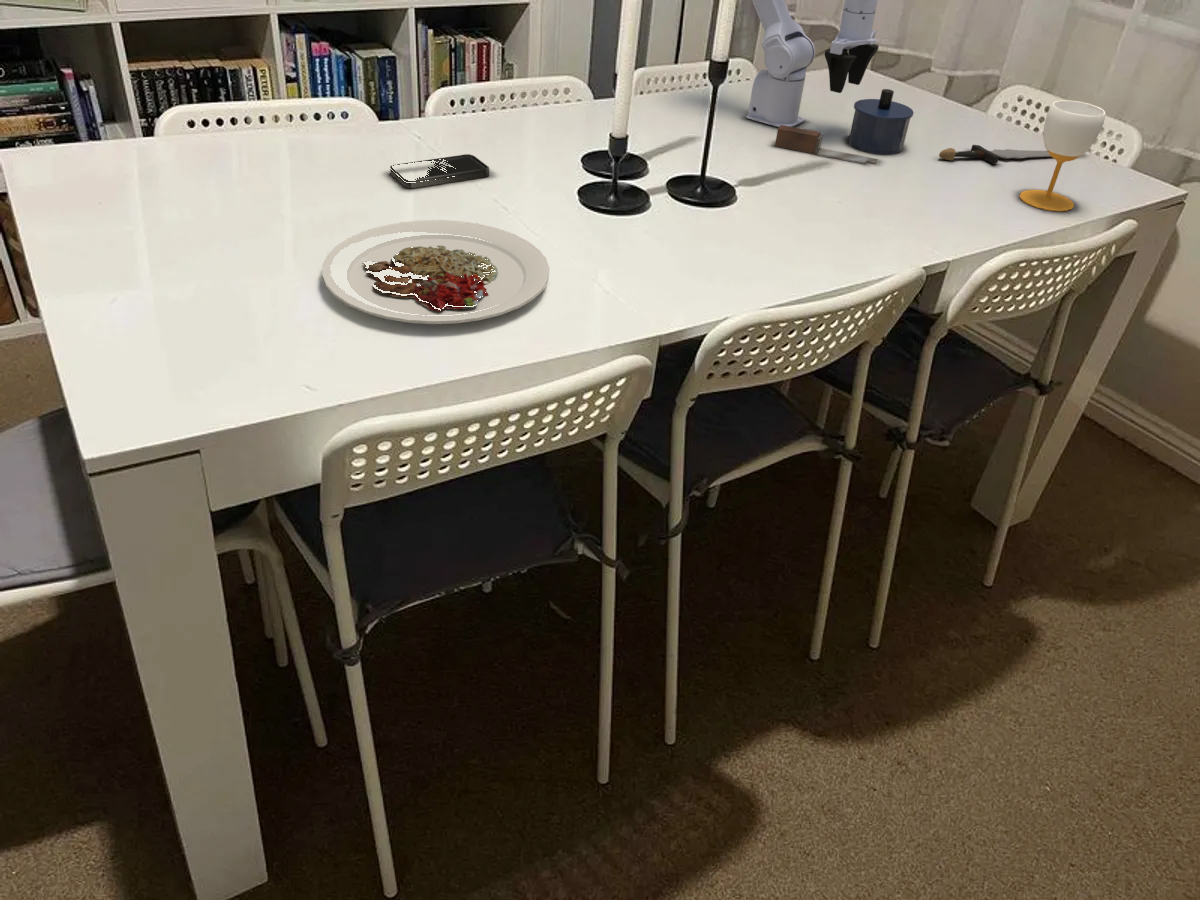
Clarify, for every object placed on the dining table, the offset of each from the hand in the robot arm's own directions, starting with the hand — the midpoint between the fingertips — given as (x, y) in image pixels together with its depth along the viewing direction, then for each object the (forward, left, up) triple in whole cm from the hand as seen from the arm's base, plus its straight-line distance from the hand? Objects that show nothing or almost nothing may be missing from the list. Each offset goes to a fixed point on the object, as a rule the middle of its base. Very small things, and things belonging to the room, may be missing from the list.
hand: (845, 87), depth 186 cm
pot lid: (+8, +2, -3) cm, 8 cm away
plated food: (-12, -96, -10) cm, 97 cm away
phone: (-38, -69, -10) cm, 80 cm away
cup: (+42, -2, -10) cm, 43 cm away
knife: (+2, -10, -9) cm, 14 cm away
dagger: (+30, +16, -10) cm, 35 cm away
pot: (+8, +2, -9) cm, 12 cm away
